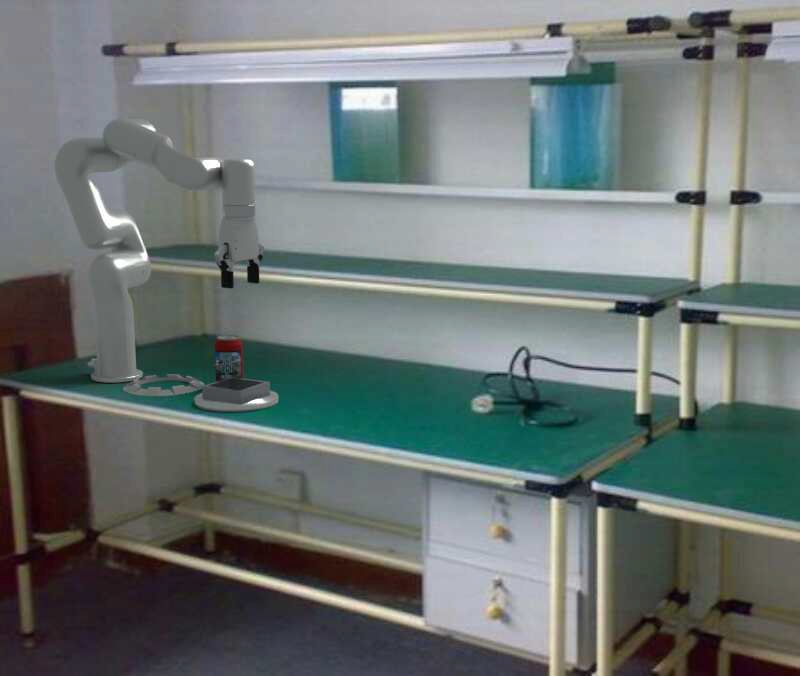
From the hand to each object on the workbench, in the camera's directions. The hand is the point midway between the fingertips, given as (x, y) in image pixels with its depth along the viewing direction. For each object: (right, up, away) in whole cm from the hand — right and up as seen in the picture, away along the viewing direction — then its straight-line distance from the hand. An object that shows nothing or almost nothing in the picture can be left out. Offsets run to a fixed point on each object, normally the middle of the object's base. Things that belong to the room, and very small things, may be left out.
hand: (240, 285), depth 267 cm
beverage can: (-4, -24, +10) cm, 27 cm away
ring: (-20, -25, +9) cm, 33 cm away
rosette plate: (0, -27, -7) cm, 28 cm away
